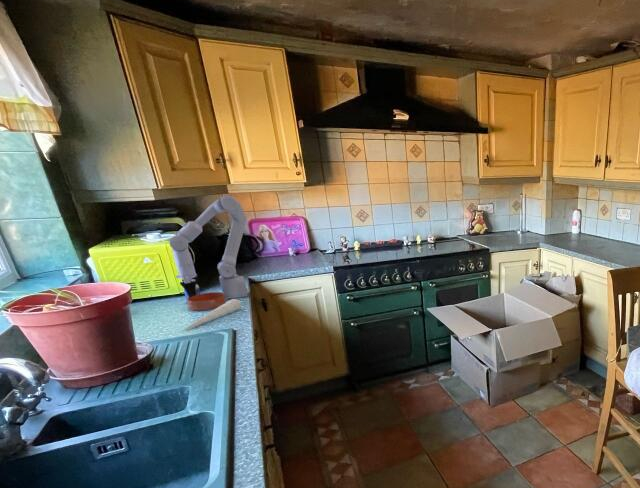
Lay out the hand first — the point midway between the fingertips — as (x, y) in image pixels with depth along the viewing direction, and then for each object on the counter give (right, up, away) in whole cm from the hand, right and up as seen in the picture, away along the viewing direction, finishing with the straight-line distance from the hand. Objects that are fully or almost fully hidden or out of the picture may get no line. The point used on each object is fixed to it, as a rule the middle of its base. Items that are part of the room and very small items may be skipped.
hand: (193, 295), depth 180 cm
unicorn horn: (+23, -10, -18) cm, 31 cm away
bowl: (+10, -5, -4) cm, 12 cm away
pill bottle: (0, -3, +1) cm, 3 cm away
